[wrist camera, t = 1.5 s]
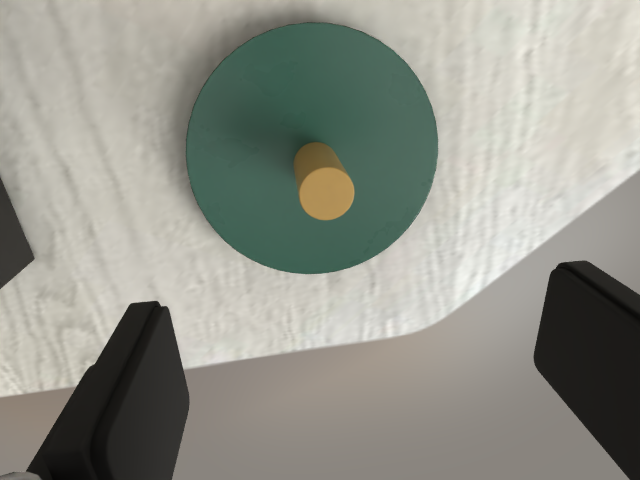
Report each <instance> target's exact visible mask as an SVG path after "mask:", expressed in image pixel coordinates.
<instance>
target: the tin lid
mask: <svg viewBox="0 0 640 480" xmlns="http://www.w3.org/2000/svg"><path fill="white" fill-rule="evenodd" d="M437 157H438V136H437V127H436V121H435V117H434V113H433V109H432V106H431V104H430V101H429V99H428V96H427V94H426V91H425V90H424V88H423V86H422V84H421V83H420V81H419V79H418V78H417V76H416V75H415V73H414V72H413V71H412V70H411V68H410V67H409V66H408V65H407V63H406V62H405V61H404V60H403V59H402V58H401V57H400V56H399V55H397V54H396V53H395V52H394V51H393V50H392V49H391V48H389V47H388V46H386V45H385V44H383V43H382V42H381V41H379V40H377V39H375V38H374V37H372V36H370V35H368V34H366V33H364V32H361V31H358V30H355V29H352V28H349V27H346V26H342V25H336V24H330V23H313V22H307V23H299V24H291V25H286V26H283V27H279V28H275V29H272V30H269V31H267V32H265V33H263V34H260V35H258V36H256V37H254V38H252V39H250V40H249V41H247V42H246V43H244V44H243V45H241V46H239V47H238V48H237V49H235V50H234V51H233V52H232V53H231V54H230V55H228V56H227V57H226V58H225V59H224V60H223V61H222V62H221V63H220V64H219V66H218V67H217V68H216V69H215V70H214V71H213V72H212V74H211V75H210V77H209V78H208V80H207V81H206V83H205V84H204V86H203V88H202V89H201V91H200V93H199V96H198V98H197V100H196V102H195V104H194V107H193V110H192V114H191V117H190V120H189V125H188V131H187V138H186V162H187V170H188V176H189V180H190V184H191V187H192V191H193V193H194V196H195V198H196V201H197V203H198V205H199V207H200V209H201V210H202V212H203V214H204V216H205V218H206V219H207V220H208V222H209V223H210V224H211V226H212V227H213V228H214V230H215V231H216V232H217V233H218V234H219V235H220V236H221V237H222V238H223V239H224V240H225V241H226V242H227V243H228V244H229V245H231V246H232V247H233V248H234V249H236V250H237V251H238V252H240V253H241V254H243V255H245V256H246V257H248V258H249V259H251V260H253V261H255V262H258V263H260V264H262V265H264V266H267V267H270V268H273V269H276V270H280V271H285V272H290V273H300V274H322V273H329V272H335V271H339V270H343V269H347V268H350V267H353V266H355V265H358V264H360V263H363V262H365V261H367V260H369V259H370V258H372V257H374V256H376V255H378V254H379V253H380V252H382V251H383V250H385V249H386V248H388V247H389V246H390V245H391V244H392V243H394V242H395V241H396V240H397V239H398V238H399V237H400V236H401V235H402V234H403V233H404V232H405V231H406V230H407V229H408V227H409V226H410V225H411V224H412V222H413V221H414V219H415V218H416V217H417V215H418V214H419V212H420V210H421V208H422V206H423V205H424V203H425V201H426V199H427V196H428V194H429V191H430V189H431V186H432V183H433V179H434V175H435V171H436V164H437Z"/></svg>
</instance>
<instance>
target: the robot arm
mask: <svg viewBox="0 0 640 480" xmlns="http://www.w3.org/2000/svg"><path fill="white" fill-rule="evenodd" d="M534 363H535V366H536V368H537V369H538V371H539V372H540V373H541V375H543V377H544V378H545V379H546V381H548V383H549V384H550V385H551V386H552V388H553V389H554V390H555V391H556V392H557V393H558V395H559V396H560V397H561V398H562V400H563V401H564V402H565V403H566V404H567V406H568V407H569V408H570V409H571V410H572V411H573V413H574V414H575V415H576V416H577V417H578V419H579V420H580V421H581V422H582V423H583V424H584V426H585V427H586V428H587V429H588V430H589V432H590V433H591V434H592V435H593V436H594V437H595V439H596V440H597V441H598V442H599V443H600V445H601V446H602V447H603V448H604V449H605V451H606V452H607V453H608V454H609V455H610V456H611V458H612V459H613V460H614V461H615V463H616V464H617V465H618V466H619V467H620V468H621V470H622V471H623V472H624V473H625V474H626V475H627V477H628V478H629V479H630V480H640V295H639V294H637V293H636V292H634V291H633V290H631V289H630V288H628V287H627V286H625V285H623V284H622V283H620V282H619V281H617V280H616V279H614V278H613V277H611V276H610V275H608V274H607V273H605V272H604V271H602V270H600V269H599V268H597V267H596V266H594V265H593V264H591V263H590V262H587V261H573V262H564V263H560V264H558V266H557V267H556V269H554V270H553V271H552V272H551V274H550V277H549V282H548V287H547V292H546V297H545V302H544V307H543V312H542V317H541V321H540V326H539V331H538V336H537V341H536V346H535V351H534ZM188 410H189V392H188V388H187V384H186V379H185V375H184V371H183V367H182V362H181V358H180V354H179V350H178V346H177V341H176V337H175V333H174V329H173V324H172V320H171V316H170V312H169V309H168V307H167V306H162V307H161V306H160V304H159V302H158V301H150V302H139V303H131V304H130V305H129V307H128V308H127V310H126V312H125V314H124V315H123V317H122V319H121V320H120V322H119V324H118V326H117V327H116V329H115V331H114V332H113V334H112V336H111V337H110V339H109V341H108V343H107V344H106V346H105V348H104V349H103V351H102V353H101V355H100V356H99V358H98V360H97V361H96V363H95V364H94V365H92V366H90V367H89V368H88V370H87V371H86V372H85V374H84V376H83V377H82V379H81V380H80V382H79V384H78V385H77V387H76V389H75V390H74V392H73V394H72V396H71V397H70V399H69V401H68V402H67V404H66V405H65V407H64V409H63V411H62V412H61V414H60V415H59V417H58V419H57V420H56V422H55V424H54V425H53V427H52V429H51V430H50V432H49V434H48V435H47V437H46V439H45V441H44V442H43V444H42V446H41V447H40V449H39V451H38V452H37V454H36V455H35V457H34V459H33V460H32V462H31V464H30V465H29V467H28V469H27V470H26V472H12V473H9V474H5V475H2V476H0V480H172V476H173V472H174V468H175V464H176V460H177V456H178V451H179V448H180V443H181V439H182V435H183V431H184V427H185V423H186V419H187V415H188Z"/></svg>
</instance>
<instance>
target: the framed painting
mask: <svg viewBox="0 0 640 480" xmlns="http://www.w3.org/2000/svg"><path fill="white" fill-rule="evenodd" d="M34 259H35V258H34V256H33V254H32V251H31V249H30V247H29V244H28V242H27V239H26V237H25V235H24V232H23V230H22V228H21V225H20V223H19V221H18V218H17V216H16V214H15V211H14V209H13V206H12V204H11V202H10V199H9V197H8V195H7V192H6V190H5V188H4V185H3V183H2V181H1V178H0V289H1V288H2V287H3V286H4V285H5V284H7V283H8V282H9V281H10V280H11V279H12V278H13V277H15V276H16V275H17V274H18V273H19V272H20V271H21V270H23V269H24V268H25V267H26V266H27V265H28V264H29V263H31V262H32V261H33V260H34Z"/></svg>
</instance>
